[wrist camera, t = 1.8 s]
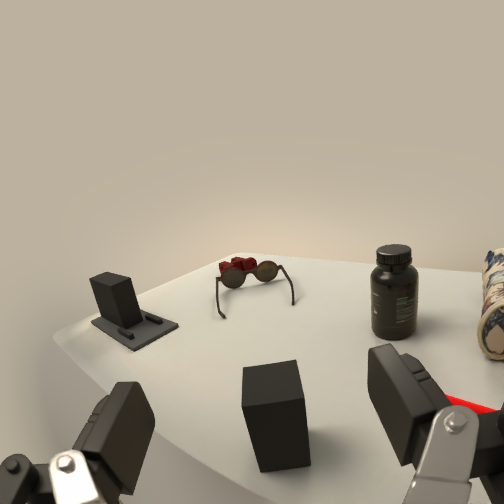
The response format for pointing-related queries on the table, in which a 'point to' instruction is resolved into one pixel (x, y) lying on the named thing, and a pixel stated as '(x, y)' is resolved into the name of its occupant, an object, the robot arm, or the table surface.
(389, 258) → the supplement bottle
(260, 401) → the black rectangular box
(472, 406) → the pen
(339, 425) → the table surface
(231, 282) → the eyeglasses
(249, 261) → the bracket
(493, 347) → the pencil case
